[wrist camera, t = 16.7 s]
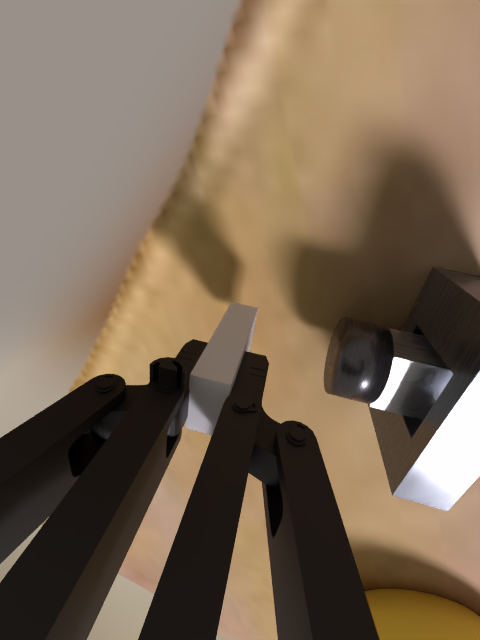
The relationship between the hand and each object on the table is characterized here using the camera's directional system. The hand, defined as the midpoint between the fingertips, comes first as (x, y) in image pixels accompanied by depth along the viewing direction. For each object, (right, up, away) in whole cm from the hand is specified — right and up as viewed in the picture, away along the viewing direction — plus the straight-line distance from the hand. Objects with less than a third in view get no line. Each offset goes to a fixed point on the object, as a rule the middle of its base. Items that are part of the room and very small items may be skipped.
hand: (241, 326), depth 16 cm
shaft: (+11, -2, 0) cm, 11 cm away
